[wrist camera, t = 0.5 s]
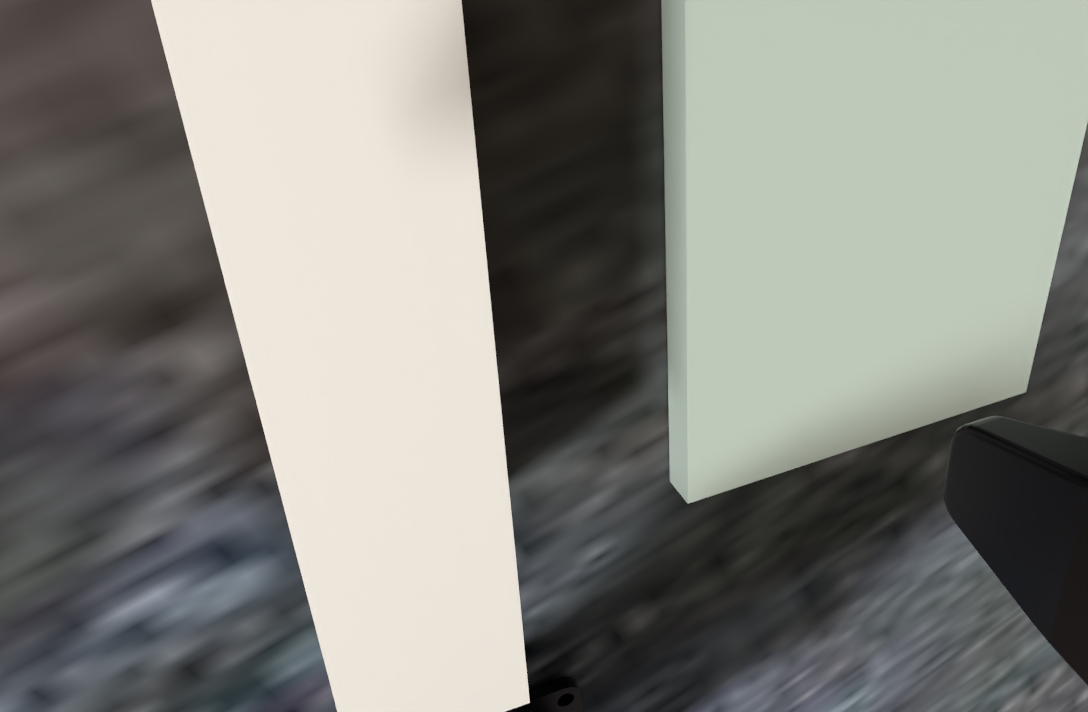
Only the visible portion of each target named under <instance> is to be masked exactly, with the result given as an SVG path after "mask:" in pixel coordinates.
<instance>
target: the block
mask: <svg viewBox="0 0 1088 712" xmlns="http://www.w3.org/2000/svg"><path fill="white" fill-rule="evenodd" d="M151 2H152V6H153V9H154V13H155V17H156V21H157V25H158V29H159V32H160V36H161V40H162V44H163V48H164V51H165V55H166V59H167V63H168V67H169V71H170V74H171V78H172V82H173V86H174V90H175V93H176V97H177V101H178V105H179V109H180V113H181V116H182V120H183V124H184V128H185V132H186V135H187V139H188V143H189V147H190V151H191V155H192V158H193V162H194V166H195V170H196V174H197V177H198V181H199V185H200V189H201V193H202V197H203V200H204V204H205V208H206V212H207V216H208V219H209V223H210V227H211V231H212V235H213V239H214V242H215V246H216V250H217V254H218V258H219V261H220V265H221V269H222V273H223V277H224V281H225V284H226V288H227V292H228V296H229V300H230V303H231V307H232V311H233V315H234V319H235V323H236V326H237V330H238V334H239V338H240V342H241V345H242V349H243V353H244V357H245V361H246V365H247V368H248V372H249V376H250V380H251V384H252V387H253V391H254V395H255V399H256V403H257V407H258V410H259V414H260V418H261V422H262V426H263V429H264V433H265V437H266V441H267V445H268V449H269V452H270V456H271V460H272V464H273V468H274V471H275V475H276V479H277V483H278V487H279V491H280V494H281V498H282V502H283V506H284V510H285V513H286V517H287V521H288V525H289V529H290V533H291V536H292V540H293V544H294V548H295V552H296V555H297V559H298V563H299V567H300V571H301V575H302V578H303V582H304V586H305V590H306V594H307V597H308V601H309V605H310V609H311V613H312V617H313V620H314V624H315V628H316V632H317V636H318V639H319V643H320V647H321V651H322V655H323V659H324V662H325V666H326V670H327V674H328V678H329V681H330V685H331V689H332V693H333V697H334V701H335V704H336V708H337V712H506V711H508V710H511V709H514V708H517V707H520V706H523V705H525V704H528V703H530V698H529V688H528V678H527V668H526V657H525V647H524V637H523V627H522V616H521V606H520V596H519V586H518V575H517V565H516V555H515V544H514V534H513V524H512V514H511V503H510V493H509V483H508V473H507V462H506V452H505V442H504V432H503V421H502V411H501V401H500V391H499V380H498V370H497V360H496V349H495V339H494V329H493V319H492V308H491V298H490V288H489V278H488V267H487V257H486V247H485V237H484V226H483V216H482V206H481V196H480V185H479V175H478V165H477V154H476V144H475V134H474V124H473V113H472V103H471V93H470V83H469V72H468V62H467V52H466V42H465V31H464V21H463V11H462V1H461V0H151Z"/></svg>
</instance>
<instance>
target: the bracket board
mask: <svg viewBox="0 0 1088 712" xmlns="http://www.w3.org/2000/svg"><path fill="white" fill-rule="evenodd" d="M661 12H662V67H663V123H664V179H665V234H666V290H667V345H668V401H669V456H670V482H671V483H672V485H673V486H674V487H675V488H676V490H677V491H678V492H679V493H680V495H681V496H682V497H683V498H684V500H685V501H686V502H687V503H688V504H689V503H692V502H695V501H698V500H701V499H704V498H707V497H710V496H713V495H716V494H719V493H722V492H725V491H728V490H731V489H734V488H737V487H740V486H743V485H746V484H749V483H752V482H755V481H758V480H761V479H764V478H767V477H770V476H773V475H776V474H779V473H782V472H786V471H789V470H792V469H795V468H798V467H801V466H804V465H807V464H810V463H813V462H816V461H819V460H822V459H825V458H828V457H831V456H834V455H837V454H840V453H843V452H846V451H849V450H852V449H855V448H858V447H861V446H864V445H867V444H870V443H873V442H876V441H879V440H882V439H886V438H889V437H892V436H895V435H898V434H901V433H904V432H907V431H910V430H913V429H916V428H919V427H922V426H925V425H928V424H931V423H934V422H937V421H940V420H943V419H946V418H949V417H952V416H955V415H958V414H961V413H964V412H967V411H970V410H973V409H976V408H979V407H982V406H986V405H989V404H992V403H995V402H998V401H1001V400H1004V399H1007V398H1010V397H1013V396H1016V395H1019V394H1022V393H1025V392H1026V390H1027V386H1028V381H1029V377H1030V372H1031V368H1032V364H1033V359H1034V355H1035V350H1036V346H1037V342H1038V337H1039V333H1040V328H1041V324H1042V320H1043V315H1044V311H1045V306H1046V302H1047V298H1048V293H1049V289H1050V284H1051V280H1052V276H1053V271H1054V267H1055V263H1056V258H1057V254H1058V249H1059V245H1060V241H1061V236H1062V232H1063V227H1064V223H1065V219H1066V214H1067V210H1068V205H1069V201H1070V197H1071V192H1072V188H1073V183H1074V179H1075V175H1076V170H1077V166H1078V161H1079V157H1080V153H1081V148H1082V144H1083V139H1084V135H1085V131H1086V126H1087V122H1088V0H661Z"/></svg>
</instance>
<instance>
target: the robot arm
mask: <svg viewBox="0 0 1088 712" xmlns="http://www.w3.org/2000/svg"><path fill="white" fill-rule="evenodd" d="M944 501H945V504H946V507H947V510H948V512H949V514H950V516H951V517H952V519H953V520H954V521H955V523H956V524H957V525H958V527H959V528H960V529H961V531H962V532H963V533H964V534H965V536H966V537H967V538H968V540H969V541H970V542H971V543H972V545H973V546H974V547H975V549H976V550H977V551H978V553H979V554H980V555H981V556H982V558H983V559H984V560H985V562H986V563H987V564H988V565H989V567H990V568H991V569H992V571H993V572H994V573H995V574H996V576H997V577H998V578H999V580H1000V581H1001V582H1002V584H1003V585H1004V586H1005V587H1006V589H1007V590H1008V591H1009V593H1010V594H1011V595H1012V596H1013V598H1014V599H1015V600H1016V602H1017V603H1018V604H1019V606H1020V607H1021V608H1022V609H1023V611H1024V612H1025V613H1026V615H1027V616H1028V617H1029V618H1030V620H1031V621H1032V622H1033V624H1034V625H1035V626H1036V627H1037V628H1038V630H1039V631H1040V632H1041V633H1042V635H1043V636H1044V637H1045V638H1046V640H1047V641H1048V642H1049V643H1050V644H1051V645H1052V647H1053V648H1054V649H1055V650H1056V651H1057V652H1058V653H1059V654H1060V656H1061V657H1062V658H1063V659H1064V660H1065V661H1066V662H1067V663H1068V664H1069V666H1070V667H1071V668H1072V669H1073V670H1074V671H1075V672H1076V673H1077V674H1078V675H1079V676H1080V677H1081V678H1082V679H1083V681H1084V682H1085V683H1086V684H1087V685H1088V438H1086V437H1082V436H1078V435H1074V434H1070V433H1066V432H1062V431H1058V430H1054V429H1050V428H1046V427H1042V426H1039V425H1035V424H1031V423H1027V422H1023V421H1019V420H1015V419H1011V418H1007V417H1002V416H990V417H986V418H983V419H980V420H977V421H974V422H971V423H968V424H965V425H962V426H961V427H959V428H958V429H957V430H956V432H955V433H954V435H953V437H952V441H951V447H950V453H949V460H948V466H947V473H946V479H945V486H944ZM529 698H530V703H528V704H525V705H523V706H520V707H517V708H514V709H511V710H508V711H506V712H583V702H582V693H581V691H580V689H579V687H578V685H577V683H576V681H575V679H573V678H572V677H561V678H558V679H555V680H552V681H550V682H547V683H544V684H542V685H539V686H536V687H534V688H531V689H529Z"/></svg>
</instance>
